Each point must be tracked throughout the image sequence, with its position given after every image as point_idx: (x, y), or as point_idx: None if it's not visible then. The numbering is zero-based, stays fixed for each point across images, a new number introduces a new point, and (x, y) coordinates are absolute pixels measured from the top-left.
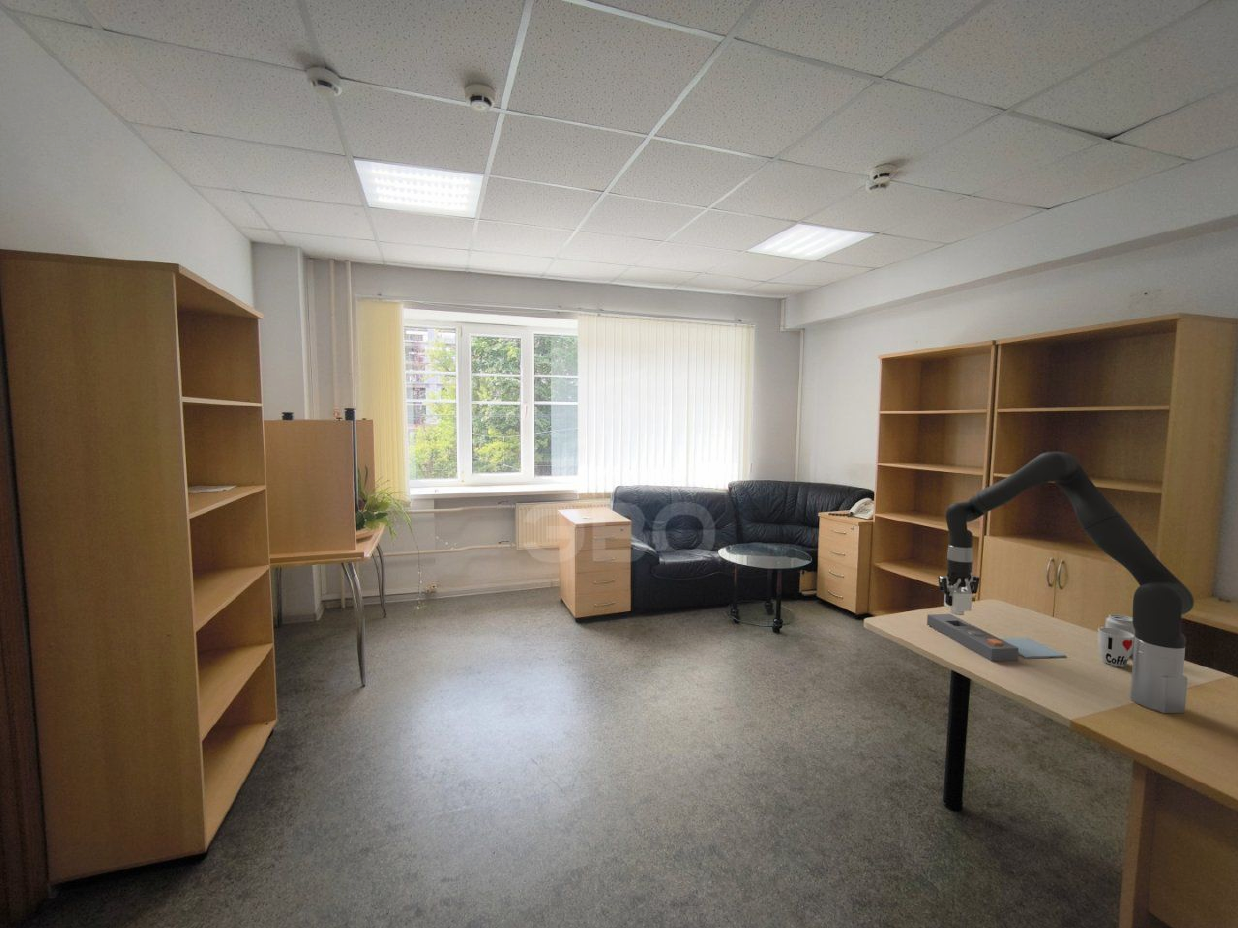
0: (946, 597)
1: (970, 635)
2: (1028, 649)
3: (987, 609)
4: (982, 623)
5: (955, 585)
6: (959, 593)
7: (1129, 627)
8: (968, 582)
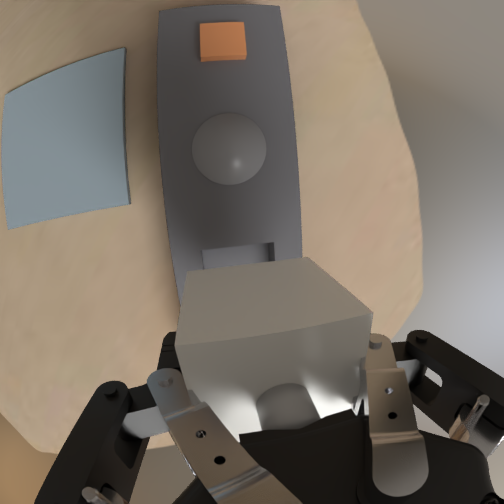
0: None
1: (276, 123)
2: (64, 113)
3: (49, 427)
4: (82, 360)
5: (403, 401)
6: (322, 343)
7: None
8: (209, 487)
